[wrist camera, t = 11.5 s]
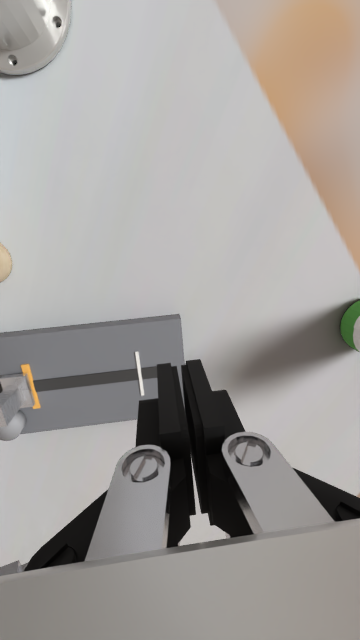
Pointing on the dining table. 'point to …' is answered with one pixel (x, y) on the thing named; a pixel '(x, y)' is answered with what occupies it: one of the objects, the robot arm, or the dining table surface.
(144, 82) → the dining table surface
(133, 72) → the dining table surface
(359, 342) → the wine bottle
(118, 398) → the console
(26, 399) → the fader
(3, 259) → the candle
